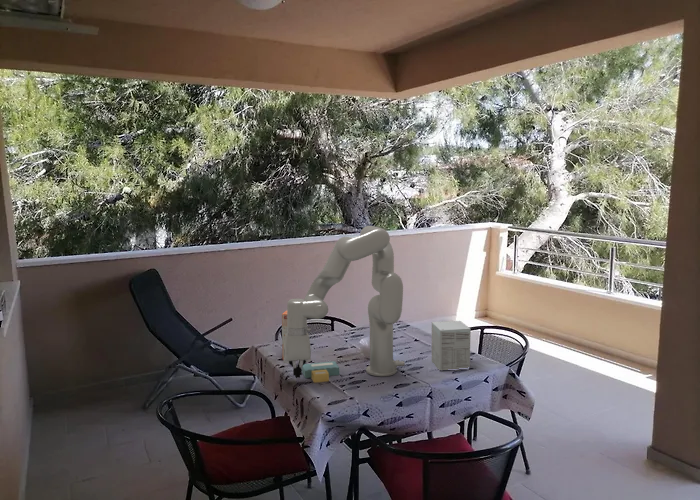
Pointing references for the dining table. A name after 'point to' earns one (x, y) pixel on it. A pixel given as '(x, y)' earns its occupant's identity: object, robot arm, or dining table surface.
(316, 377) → the yellow labeled box
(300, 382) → the dining table surface
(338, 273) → the robot arm
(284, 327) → the cracker box
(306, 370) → the teal labeled router
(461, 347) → the supplement box
